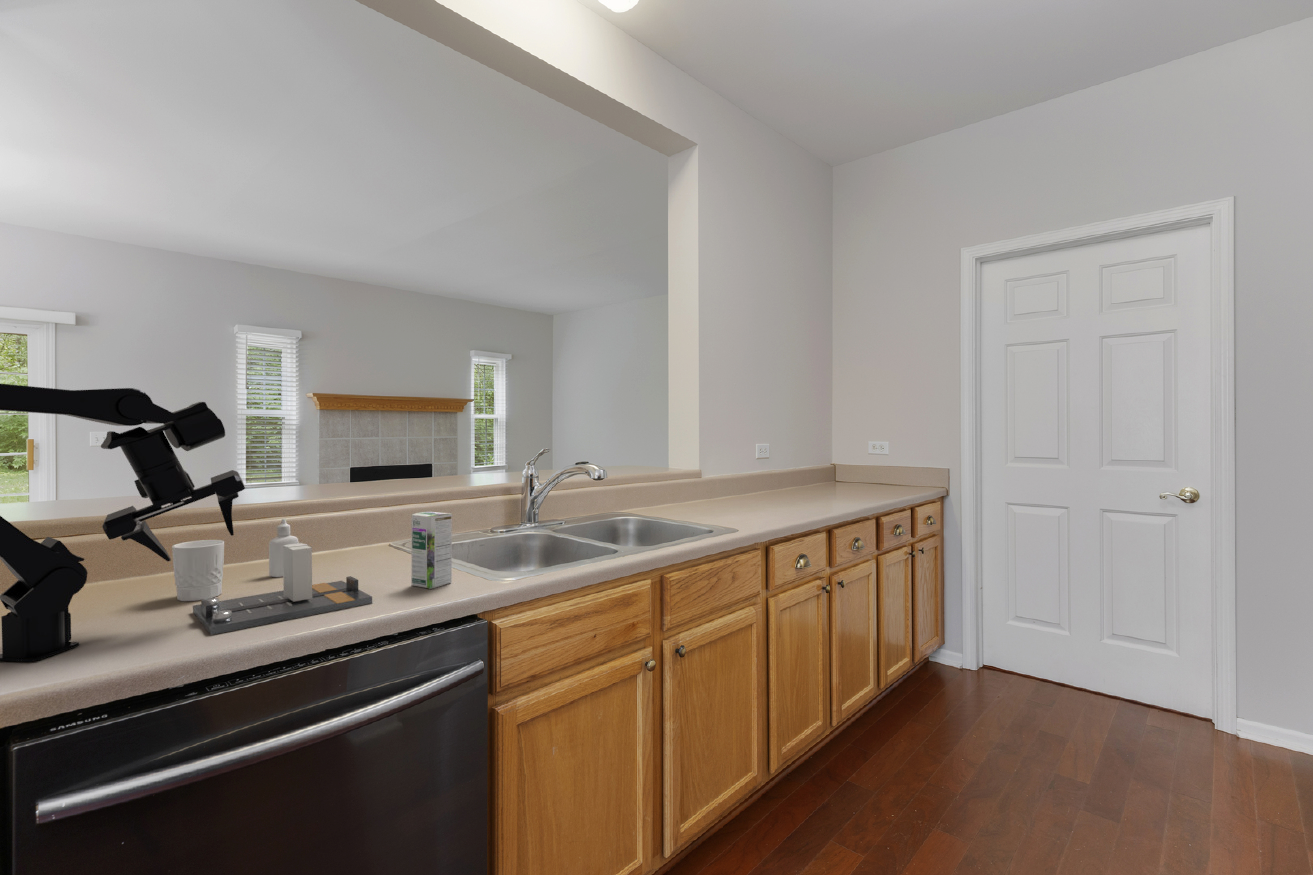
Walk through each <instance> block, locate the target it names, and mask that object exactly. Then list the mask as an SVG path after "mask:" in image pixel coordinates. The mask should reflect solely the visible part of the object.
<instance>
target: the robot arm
mask: <svg viewBox="0 0 1313 875" xmlns="http://www.w3.org/2000/svg"><path fill="white" fill-rule="evenodd" d="M1 411H6V412H17V413H32V414H48V415H62V416H67V417H72V418H76V419H81V420H85V421H89V422H90V421H91V422H95V423H100V424H105V425H111V426H117V427H120V426H121V427H133V426H138V427H135V428H132V429H129V430H127V431H123V432H120V433H119V432H116V431H111V430H109V431H107V432H106V437H105V439H104V441H102V443H101V445H100V448H101V449H104V450H114V449H117V448H120V449H121V451H122V452H123V454H124V456H125V458H126V459H127V461H128V463H129V464H130V467H131V469H132V470H133V472H134V473H135V475H136V478H137V479H136V480H134V484H135V487H136V489H137V491H138V493H139V495H140V497H141V498H143V499H147V498H148V499H149V500H150V502H151V503H152V504H151V505H148V506H145V507H142V508H140V509H136V507H135V506H134V505H131V506H128V507H126V508H123V509H120V510H119V509H118V510H117V511H114V512H112V513H109V514H107V515H106V517H105V519H104V521H103V524H102V526H101V528H102V530H103V532H104V533H105V535H106V537H107V538H108V540H109V541H110V540H115V539H117V538H121V541H123V542H124V541H128V540H132V541H134V542H136V543H138V544H140V545H142V546H144V547H145V548H147V549H149V550H151V551H152V552H153V553H155V554H156V555H158V556H159V557H161V558H162V559H163V560H164V561H166V562H171V557H170V555H169V553H168V551H167V550H166V548H165V547H164V546H163V545H162V543H161V542H160V541H159V539H158V538H157V536H156V535H155V534H154V533H153V531H152V529H151V528H150V526H149V524H148V522H147V521H146V520H148V519H149V520H150V519H151V518H155V517H157V516H160V515H162V514H165V513H167V512H170V511H173V510H177V509H179V508H181V507H182V508H183V506H187V505H189V504H192V503H195V502H198V501H200V500H202V499H206V498H208V497H210V496H214V495H216V497H217V502H218V506H219V508H220V511H221V513H222V517H223V520H224V523H225V525H226V529H227V531H228V533H229V534H230V536H231V537H232V536H234V533H235V532H234V524H233V514H232V512H233V500H235V499H238V498H239V497H240V496H239V493H240V492H242V491H244V490H245V489H246V486H245V484H244V482H243V480H242V478H241V475H240V473H239V472H238V471H236V470H233V469H232V470H229V471H227V472H224V473H220V474H217V475H215V476H212V477H210V483H209V484H206V485H203V486H200V487H198V488H195V483H194V482H193V480H192V478H191V477H190V474H189V473H188V472H187V471H186V470H184V468H183V466H182V464H181V462H180V459H179V458H178V457H177V454H176V452H175V451H174V449H173V448H172V447H174V448H175V449H180V448H181V449H182V450H184V451H185V452H190V451H193V450H194V449H197V448H201V447H202V446H205V445H207V444H210V443H213V442H215V441H218V440H221V439H223V438H225V436H226V429H225V426H224V424H223V422H222V420H221V419H220V418H219V417H218V416H217V415H216V413H215V412H214V411H213V410H212V409H211V408H209V407H208V405H207V403H206V402H205V401H198V402H194V403H191V404H190V405H188V406H187V407H184V408H180V409H178V410H175V411H170V410H168V409H165V408H164V407H161V406H160V405H158V404H155V403H154V402H153V400H152V398H151V397H150V395H148V394H147V393H146V392H145V391H143V390H141V389H138V388H135V387H133V388H132V387H131V388H130V387H125V388H124V387H123V388H120V387H119V388H99V389H97V388H95V389H73V390H71V389H62V388H52V387H42V386H41V387H40V386H31V385H29V386H28V385H21V384H7V383H0V412H1ZM143 424H147V425H148V424H156V425H157V424H160V426H156V427H152V428H151V429H147V430H146V428H144V427H143V426H140V425H143ZM161 424H162V425H161ZM168 504H169V505H168ZM166 505H167V506H166ZM163 506H164V507H163ZM0 560H1V562H2V563H3V564H4V566H6V568H7V569H8V570H9V571H10V573H11V574H12V575H14V576H15V578H16V579H17V580H16V582H14V583H13V584H12V585H10V586H9V587H8V588H7V589H6V590H5V591H4V592H3V593H1V594H0V602H1V603H2V605H3V607H4V608H5V609H6V610H9V612H8V613H6V614H5V615H1V616H0V618H1V652H2V653H0V662H26V663H27V662H31V663H33V662H38V661H40V660H43V659H45V658H48V657H51V656H54V655H57V654H59V653H63V652H65V651H68V650H70V649H74V648H77V647H79V646H80V641H71V640H72V620H71V619H72V614H71V612H69V606H70V603H71V601H72V599H73V597H74V595H76V594H78V593H79V592H80V591H81V590H82V588H84V586H85V585H86V582H87V580H88V570H87V567H85V566H84V565H83V563H81V562H84V561H85V558H84V557H82V556H79V555H76V554H74V553H73V552H71V551H70V550H69V548H68V547H67V546H66V545H65V544H64V543H63V542H62V541H61V540H59V539H56V538H53V537H52V536H51V537H50V536H47V537H45V538H44V539H43V541H41V542H38V541H37V540H35V539H32V538H31V537H29V536H28V535H27V534H26V533H24V532H22V530H20V529H19V528H17V527H16V526H15V525H13V524H12V523H11V522H9V521H8V520H6V518H4V517H3V516H2V515H0Z"/></svg>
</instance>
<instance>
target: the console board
mask: <svg viewBox="0 0 1313 875" xmlns="http://www.w3.org/2000/svg"><path fill="white" fill-rule="evenodd" d="M345 579H346V581H343V580H337V581H331V582H321V583H316V584H312V598H311V599H305V600H300V601H294V602H293V601H292V600H290V599H289V598H287V597H286V596H285V595H284V589H283V590H277V591H271V592H267V593H261V594H255V595H254V594H253V595H248V596H242V597H237V598H230V599H224V600H220V598H218V597H213V598H209V599H204V600H200V602H201V603H200V604H194V605H192V613H193V615H195V617H196V619H198V621H199V622H200V623H201V625H202V626H203V625H204V626H203V627H204V628H205V630H206V631H207V632H208V633H209V635H211V636H214V635H220V634H223V633H228V632H229V633H230V632H233V631H234V632H235V631H239V630H238V629H240V630H244V629H248V628H249V627H250V628H253V626H255V627H258V626H257V625H260V626H264V625H270V624H274V622H275V623H279V621H280V622H284V621H290V620H295V619H299V618H300V619H301V618H306V617H310V616H315V615H319V614H325V613H330V612H333V611H334V612H335V611H339V610H345V609H349V608H354V607H360V606H365V605H370V604H373V596H372V595H370V594H368V593H366V592H364V591H362V590H361V589H359V579H357V578H355V577H354V576H346V578H345ZM269 623H270V624H269Z"/></svg>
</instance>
